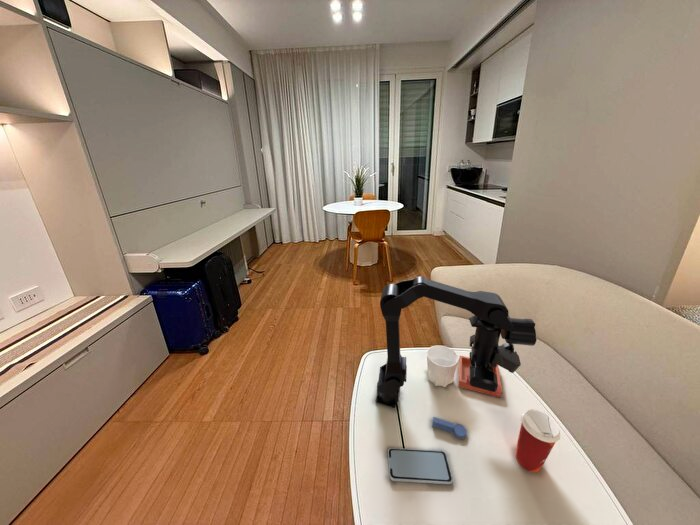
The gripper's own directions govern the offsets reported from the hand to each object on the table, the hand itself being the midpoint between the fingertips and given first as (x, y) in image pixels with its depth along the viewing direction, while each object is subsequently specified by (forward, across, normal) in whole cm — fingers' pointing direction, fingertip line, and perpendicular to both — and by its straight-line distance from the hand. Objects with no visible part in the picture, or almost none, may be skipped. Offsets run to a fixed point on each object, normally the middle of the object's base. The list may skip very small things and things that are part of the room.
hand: (477, 382), depth 76 cm
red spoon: (+1, 0, -2) cm, 2 cm away
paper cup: (+11, -10, -13) cm, 20 cm away
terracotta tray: (+11, +14, -2) cm, 18 cm away
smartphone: (+11, -22, +12) cm, 28 cm away
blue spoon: (+11, -9, +6) cm, 16 cm away
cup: (+11, +10, +10) cm, 18 cm away
